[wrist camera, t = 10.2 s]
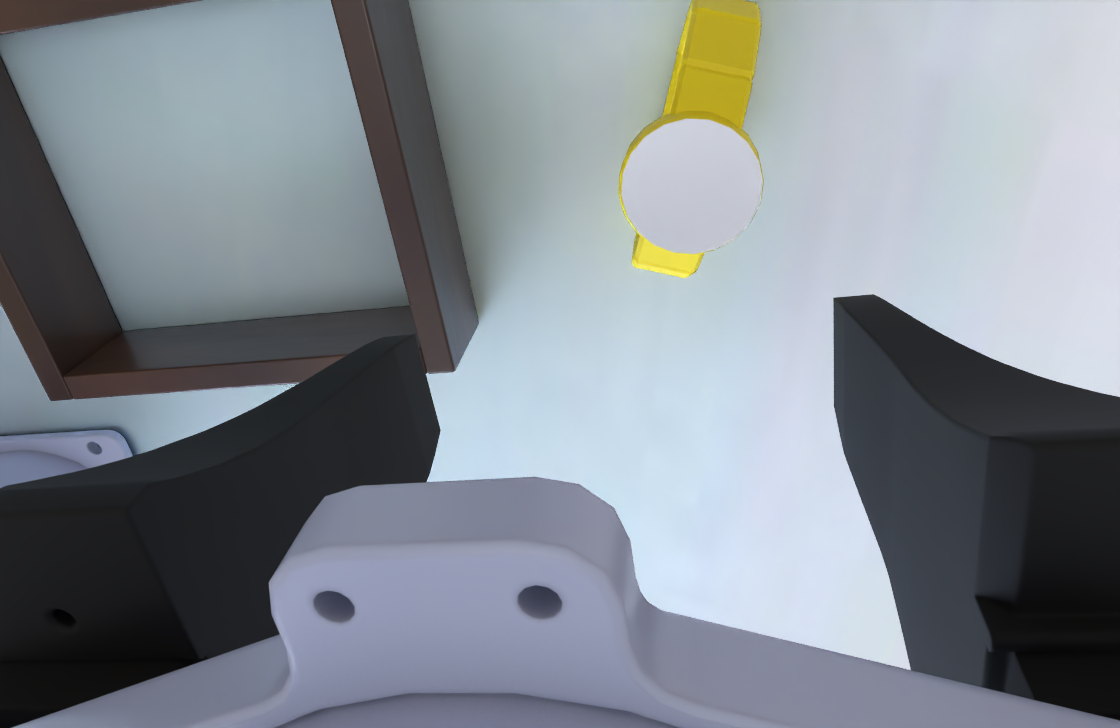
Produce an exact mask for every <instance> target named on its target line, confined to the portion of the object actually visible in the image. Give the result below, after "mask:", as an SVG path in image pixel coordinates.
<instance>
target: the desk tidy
mask: <svg viewBox="0 0 1120 728" xmlns="http://www.w3.org/2000/svg"><path fill="white" fill-rule="evenodd" d="M195 1H201V0H0V35H3V34H9V33H15V32H20V31H26V30H32V29H38V28H44V27H50V26H55V25H61V24H67V23H73V22H79V21H85V20H90V19H96V18H102V17H108V16H114V15H120V14H125V13H131V12H137V11H143V10H149V9H155V8H160V7H166V6H172V5H178V4H184V3H190V2H195ZM331 3H332V7H333V11H334V14H335V18H336V22H337V26H338V30H339V34H340V38H341V41H342V45H343V49H344V53H345V57H346V61H347V65H348V68H349V72H350V76H351V80H352V84H353V88H354V91H355V95H356V99H357V103H358V107H359V111H360V115H361V118H362V122H363V126H364V130H365V134H366V138H367V141H368V145H369V149H370V153H371V157H372V161H373V165H374V168H375V172H376V176H377V180H378V184H379V188H380V192H381V195H382V199H383V203H384V207H385V211H386V215H387V218H388V222H389V226H390V230H391V234H392V238H393V242H394V245H395V249H396V253H397V257H398V261H399V265H400V268H401V272H402V276H403V280H404V284H405V288H406V292H407V295H408V299H409V303H410V306H406V307H395V308H384V309H372V310H361V311H350V312H339V313H327V314H316V315H305V316H293V317H282V318H271V319H259V320H248V321H237V322H226V323H214V324H203V325H192V326H180V327H169V328H158V329H146V330H135V331H124V332H122V331H121V329H120V326H119V324H118V322H117V320H116V317H115V315H114V313H113V310H112V308H111V306H110V304H109V301H108V299H107V297H106V295H105V292H104V290H103V288H102V286H101V283H100V281H99V279H98V277H97V274H96V272H95V270H94V268H93V265H92V263H91V261H90V259H89V256H88V254H87V252H86V250H85V247H84V245H83V243H82V241H81V238H80V236H79V234H78V232H77V229H76V227H75V225H74V223H73V220H72V218H71V216H70V214H69V211H68V209H67V207H66V205H65V202H64V200H63V198H62V196H61V193H60V191H59V189H58V187H57V184H56V182H55V180H54V178H53V175H52V173H51V171H50V169H49V166H48V164H47V162H46V160H45V157H44V155H43V153H42V151H41V148H40V146H39V144H38V142H37V139H36V137H35V135H34V133H33V130H32V128H31V126H30V124H29V121H28V119H27V117H26V115H25V112H24V110H23V108H22V105H21V103H20V101H19V99H18V96H17V94H16V92H15V90H14V87H13V85H12V83H11V81H10V78H9V76H8V74H7V72H6V69H5V67H4V65H3V63H2V60H1V58H0V303H1V305H2V307H3V309H4V311H5V313H6V315H7V317H8V319H9V321H10V323H11V325H12V327H13V329H14V331H15V333H16V335H17V336H18V338H19V340H20V342H21V344H22V346H23V348H24V350H25V352H26V354H27V356H28V358H29V360H30V362H31V364H32V366H33V368H34V370H35V372H36V374H37V376H38V378H39V380H40V382H41V383H42V385H43V387H44V389H45V391H46V393H47V395H48V397H49V399H50V400H51V401H58V400H71V399H86V398H100V397H114V396H128V395H142V394H156V393H170V392H183V391H197V390H211V389H225V388H239V387H253V386H267V385H281V384H295V383H301V382H303V381H304V380H306V379H308V378H310V377H311V376H313V375H315V374H316V373H318V372H319V371H321V370H323V369H324V368H326V367H328V366H329V365H331V364H333V363H334V362H336V361H338V360H339V359H341V358H343V357H345V356H346V355H348V354H350V353H351V352H353V351H355V350H357V349H358V348H360V347H362V346H364V345H366V344H368V343H370V342H372V341H374V340H377V339H379V338H382V337H388V336H400V335H411V334H415V336H416V340H417V343H418V347H419V351H420V355H421V359H422V362H423V366H424V370H425V374H426V373H427V372H428V373H429V374H432V373H446V372H454V371H455V370H456V368H457V366H458V364H459V362H460V360H461V358H462V356H463V354H464V352H465V350H466V348H467V346H468V344H469V342H470V340H471V338H472V336H473V334H474V332H475V330H476V328H477V326H478V323H479V322H478V317H477V313H476V308H475V304H474V299H473V295H472V290H471V286H470V281H469V277H468V272H467V267H466V263H465V258H464V254H463V249H462V245H461V240H460V236H459V231H458V227H457V222H456V217H455V213H454V208H453V204H452V199H451V195H450V190H449V186H448V181H447V177H446V172H445V168H444V163H443V158H442V154H441V149H440V145H439V140H438V136H437V131H436V127H435V122H434V118H433V113H432V108H431V104H430V99H429V95H428V90H427V86H426V81H425V77H424V72H423V68H422V63H421V58H420V54H419V49H418V45H417V40H416V36H415V31H414V27H413V22H412V18H411V13H410V8H409V4H408V0H331Z"/></svg>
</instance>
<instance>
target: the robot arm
mask: <svg viewBox="0 0 1120 728" xmlns="http://www.w3.org/2000/svg"><path fill="white" fill-rule="evenodd" d="M834 408H835V413H836V418H837V423H838V427H839V432H840V437H841V441H842V446H843V451H844V454H845V457H846V460H847V462H848V465H849V468H850V471H851V473H852V476H853V479H854V481H855V484H856V487H857V489H858V492H859V495H860V497H861V500H862V503H863V505H864V508H865V511H866V513H867V516H868V518H869V521H870V524H871V526H872V529H873V532H874V534H875V537H876V540H877V542H878V545H879V547H880V550H881V553H882V556H883V559H884V562H885V565H886V568H887V572H888V575H889V578H890V582H891V587H892V591H893V595H894V599H895V603H896V607H897V611H898V615H899V619H900V624H901V628H902V632H903V637H904V641H905V645H906V650H907V654H908V659H909V663H910V667H911V670H907V669H903V668H899V667H895V666H891V665H886V664H882V663H878V662H874V661H870V660H866V659H862V658H857V657H853V656H849V655H845V654H841V653H837V652H832V651H828V650H824V649H820V648H816V647H812V646H808V645H803V644H799V643H795V642H791V641H787V640H783V639H778V638H774V637H770V636H766V635H762V634H758V633H754V632H749V631H745V630H741V629H737V628H733V627H729V626H724V625H720V624H716V623H712V622H708V621H704V620H700V619H695V618H691V617H687V616H683V615H679V614H675V613H670V612H666V611H663V610H660V609H658V608H657V607H655V606H653V605H652V604H650V603H649V602H648V601H647V600H646V599H645V598H644V596H643V595H642V593H641V592H640V589H639V585H638V582H637V579H636V576H635V569H634V563H633V556H632V549H631V543H630V539H629V537H628V535H627V533H626V531H625V529H624V527H623V525H622V523H621V521H620V519H619V517H618V515H617V513H616V511H615V509H614V508H613V507H612V506H610V505H609V504H607V503H606V502H605V501H603V500H602V499H600V498H599V497H597V496H596V495H594V494H593V493H591V492H590V491H588V490H587V489H585V488H584V487H582V486H581V485H579V484H575V483H569V482H563V481H557V480H551V479H545V478H539V477H523V478H503V479H483V480H464V481H444V482H427V479H428V477H429V474H430V470H431V467H432V463H433V460H434V456H435V452H436V448H437V443H438V439H439V435H440V427H439V423H438V419H437V415H436V411H435V408H434V404H433V400H432V396H431V393H430V389H429V385H428V381H427V377H426V374H425V370H424V366H423V362H422V359H421V355H420V351H419V347H418V343H417V340H416V336H415V334H411V335H400V336H388V337H382V338H379V339H377V340H374V341H372V342H370V343H368V344H366V345H364V346H362V347H360V348H358V349H357V350H355V351H353V352H351V353H350V354H348V355H346V356H345V357H343V358H341V359H339V360H338V361H336V362H334V363H333V364H331V365H329V366H328V367H326V368H324V369H323V370H321V371H319V372H318V373H316V374H315V375H313V376H311V377H310V378H308V379H306V380H304V381H303V382H301V383H299V384H297V385H296V386H294V387H292V388H290V389H288V390H287V391H285V392H283V393H281V394H279V395H278V396H276V397H274V398H272V399H271V400H269V401H267V402H265V403H263V404H262V405H260V406H258V407H256V408H254V409H252V410H250V411H248V412H246V413H244V414H242V415H239V416H237V417H235V418H233V419H231V420H228V421H226V422H224V423H222V424H220V425H217V426H215V427H213V428H210V429H208V430H206V431H203V432H201V433H198V434H195V435H193V436H190V437H187V438H184V439H182V440H179V441H176V442H173V443H171V444H168V445H165V446H162V447H160V448H157V449H154V450H151V451H148V452H145V453H142V454H139V455H135V456H133V455H132V453H131V451H130V448H129V446H128V444H127V442H126V440H125V439H124V437H123V436H122V435H121V434H119V433H118V432H116V431H113V430H93V431H77V432H61V433H46V434H30V435H14V436H0V728H1120V397H1116V396H1112V395H1107V394H1102V393H1098V392H1093V391H1090V390H1086V389H1082V388H1078V387H1074V386H1071V385H1067V384H1063V383H1059V382H1056V381H1053V380H1049V379H1046V378H1043V377H1040V376H1037V375H1034V374H1031V373H1028V372H1025V371H1023V370H1020V369H1017V368H1015V367H1012V366H1009V365H1006V364H1004V363H1001V362H999V361H996V360H994V359H992V358H989V357H987V356H985V355H983V354H981V353H978V352H976V351H974V350H972V349H970V348H968V347H966V346H964V345H962V344H960V343H958V342H956V341H954V340H952V339H950V338H948V337H946V336H944V335H943V334H941V333H939V332H937V331H935V330H934V329H932V328H930V327H928V326H927V325H925V324H923V323H922V322H920V321H918V320H917V319H915V318H913V317H912V316H910V315H908V314H907V313H905V312H903V311H902V310H900V309H898V308H897V307H895V306H893V305H892V304H890V303H888V302H887V301H885V300H883V299H882V298H880V297H878V296H875V295H861V296H850V297H838V298H834ZM96 443H97V444H99V446H100V447H99V446H98V445H97V444H96Z"/></svg>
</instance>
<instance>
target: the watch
mask: <svg viewBox="0 0 1120 728" xmlns="http://www.w3.org/2000/svg"><path fill="white" fill-rule="evenodd" d="M760 28H761V17H760V8H759V7H758V5H757V3H754V2H750V1H745V0H692V1H691V4H690V7H689V11H688V14H687V18H686V21H685V25H684V29H683V33H682V36H681V40H680V44H679V47H678V49H677V57H676V61H675V65H674V69H673V73H672V78H671V82H670V86H669V90H668V94H667V99H666V103H665V107H664V111H663V115H662V117H660V118H658V119H657V120H655V121H654V122H652V123H651V124H649V125H648V126H646V127H645V128H644V129H643V130H642V131H641V132H640V133H639V134H638V136H637V137H636V138H635V139H634V140H633V142H632V143H631V144H630V146H629V148H628V151H627V153H626V156H625V158H624V161H623V163H622V167H621V171H620V178H619V198H620V201H621V205H622V209H623V212H624V215H625V217H626V218H627V220H628V221H629V223H630V224H631V226H632V227H633V229H634V230H635V231H636V237H635V242H634V248H633V255H632V262H631V263H632V264H633V266H634V267H636V268H640V269H645V270H650V271H654V272H659V273H663V274H668V275H672V276H677V277H681V278H686V277H688V276H690V275H692V274H693V273H695V272H696V270H697V269H698V267H699V265H700V262H701V260H702V258H703V255H704V253H705V252H708V251H713V250H716V249H718V248H720V247H722V246H724V245H725V244H727V243H729V242H731V241H733V240H734V239H735V238H737V237H738V236H739V234H740V233H741V232H742V231H743V230H744V229H745V228H746V227H747V226H748V225H749V224H750V223H751V221H752V219H753V217H754V215H755V213H756V211H757V209H758V207H759V205H760V202H761V197H762V190H763V175H762V170H761V165H760V160H759V155H758V152H757V150H756V148H755V146H754V145H753V143H752V141H751V139H750V138H749V136H748V135H747V133H746V132H745V131H744V130H742V127H743V122H744V118H745V114H746V109H747V105H748V100H749V96H750V92H751V87H752V79H753V77H754V72H755V65H756V59H757V52H758V46H759V39H760V33H761V29H760Z"/></svg>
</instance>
